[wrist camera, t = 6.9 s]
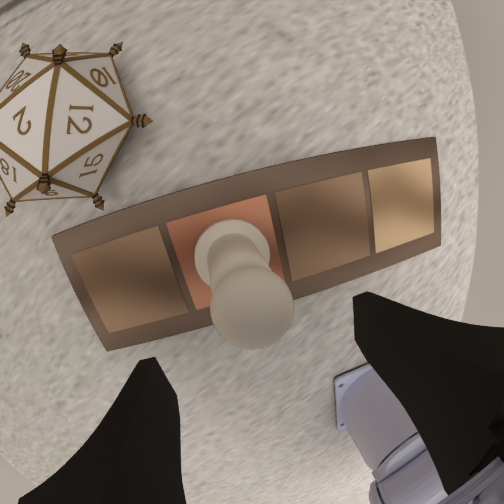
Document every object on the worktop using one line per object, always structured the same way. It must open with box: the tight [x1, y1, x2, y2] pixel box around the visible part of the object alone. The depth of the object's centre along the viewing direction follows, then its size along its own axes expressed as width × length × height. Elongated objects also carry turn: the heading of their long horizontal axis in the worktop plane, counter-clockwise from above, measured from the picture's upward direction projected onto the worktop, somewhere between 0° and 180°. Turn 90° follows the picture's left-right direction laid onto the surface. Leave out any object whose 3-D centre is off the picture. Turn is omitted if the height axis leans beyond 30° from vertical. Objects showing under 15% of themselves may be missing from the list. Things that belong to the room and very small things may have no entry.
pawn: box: [194, 218, 294, 349], centre depth 14 cm, size 4×4×8 cm
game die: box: [0, 42, 153, 217], centre depth 11 cm, size 9×8×10 cm
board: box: [52, 137, 441, 351], centre depth 19 cm, size 9×28×1 cm, turn 103°
